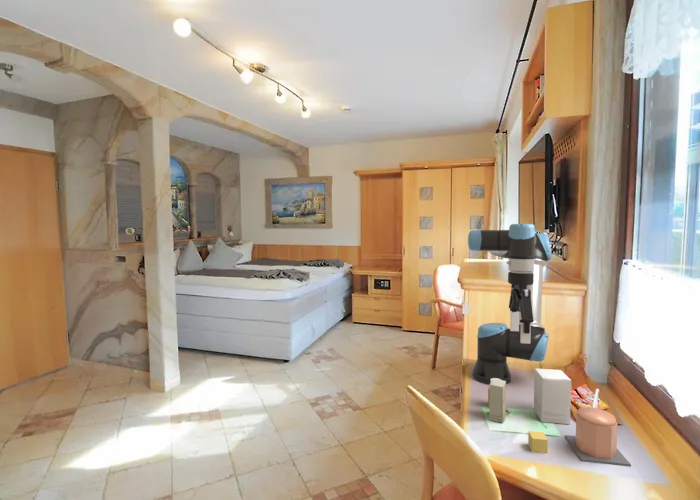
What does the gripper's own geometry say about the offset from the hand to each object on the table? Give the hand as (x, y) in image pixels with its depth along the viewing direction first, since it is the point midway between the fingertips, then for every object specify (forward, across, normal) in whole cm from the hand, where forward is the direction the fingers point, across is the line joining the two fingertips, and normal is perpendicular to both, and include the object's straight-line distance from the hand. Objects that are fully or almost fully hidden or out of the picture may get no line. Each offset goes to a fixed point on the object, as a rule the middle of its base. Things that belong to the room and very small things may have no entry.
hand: (519, 336), depth 118 cm
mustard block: (+29, +14, +2) cm, 32 cm away
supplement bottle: (+29, -10, -5) cm, 31 cm away
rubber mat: (+29, +12, +18) cm, 36 cm away
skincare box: (+29, -2, -6) cm, 30 cm away
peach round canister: (+28, +12, +18) cm, 36 cm away
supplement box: (+29, -6, +12) cm, 32 cm away
